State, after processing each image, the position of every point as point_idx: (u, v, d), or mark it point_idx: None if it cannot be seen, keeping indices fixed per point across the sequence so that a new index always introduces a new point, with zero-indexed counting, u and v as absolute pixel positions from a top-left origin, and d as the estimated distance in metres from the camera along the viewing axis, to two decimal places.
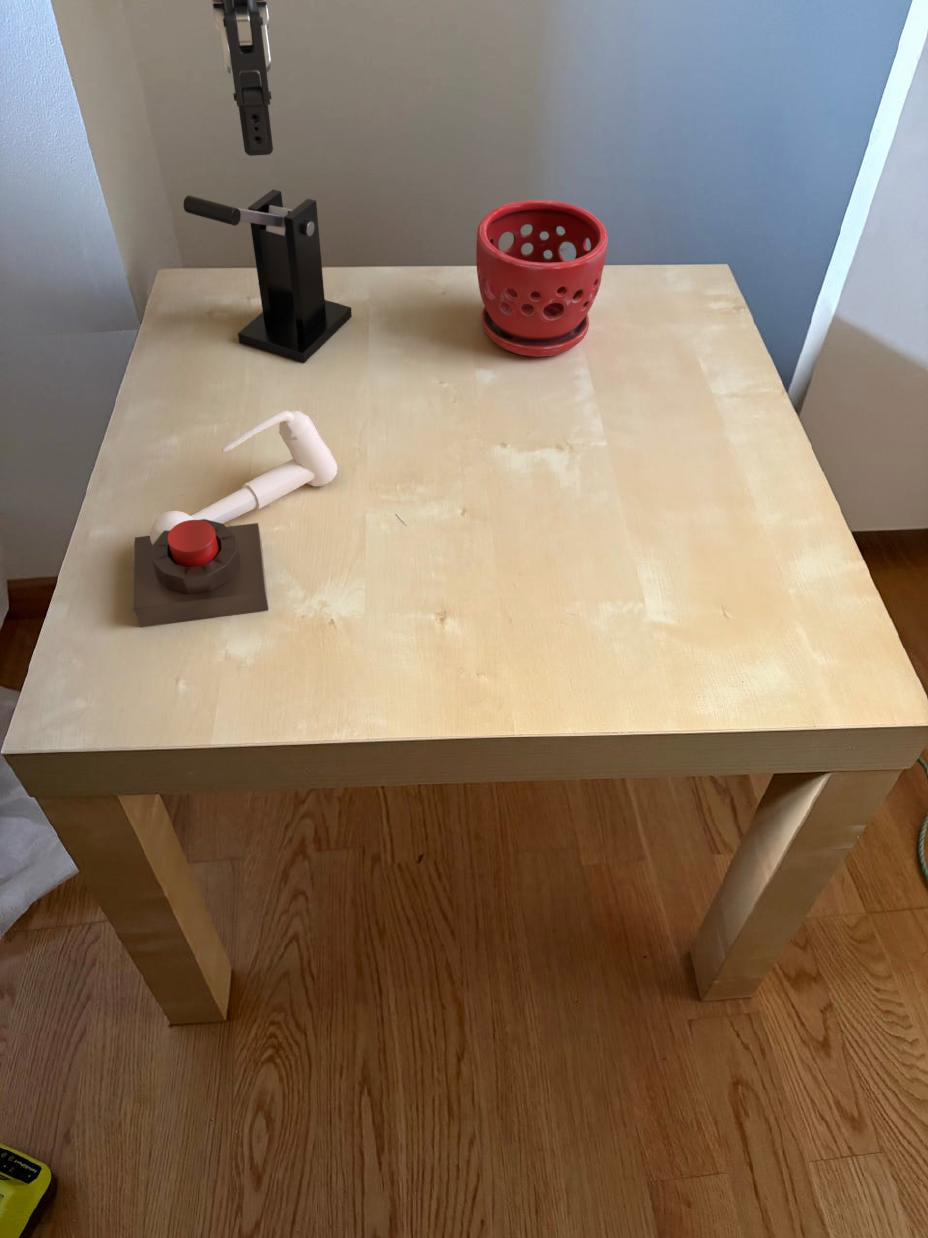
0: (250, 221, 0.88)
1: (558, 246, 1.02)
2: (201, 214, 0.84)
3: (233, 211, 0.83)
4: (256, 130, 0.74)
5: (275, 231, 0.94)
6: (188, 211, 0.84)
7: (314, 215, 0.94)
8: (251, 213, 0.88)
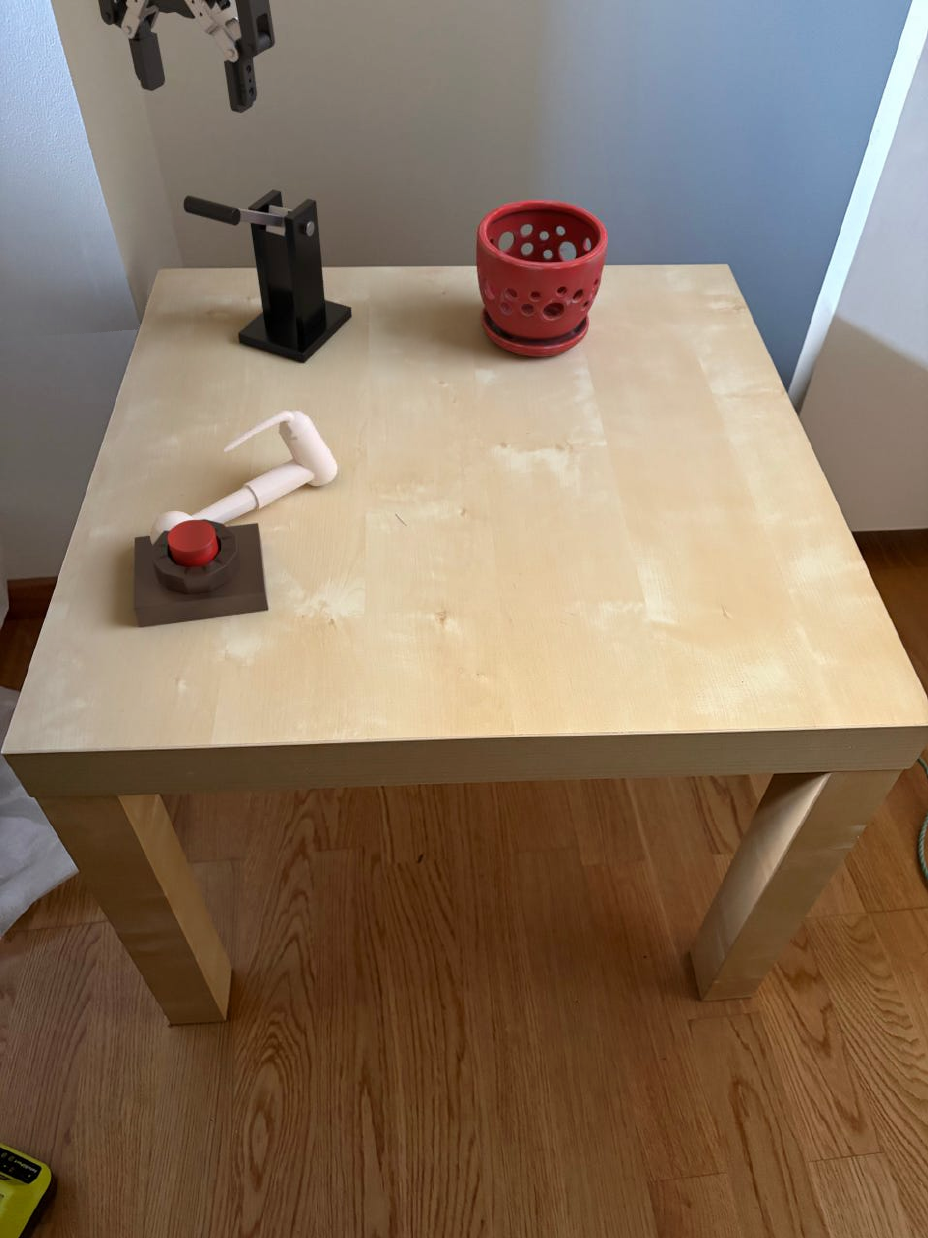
0: (250, 221, 0.88)
1: (558, 246, 1.02)
2: (201, 214, 0.84)
3: (233, 211, 0.83)
4: (249, 82, 0.74)
5: (275, 231, 0.94)
6: (188, 211, 0.84)
7: (314, 215, 0.94)
8: (251, 213, 0.88)
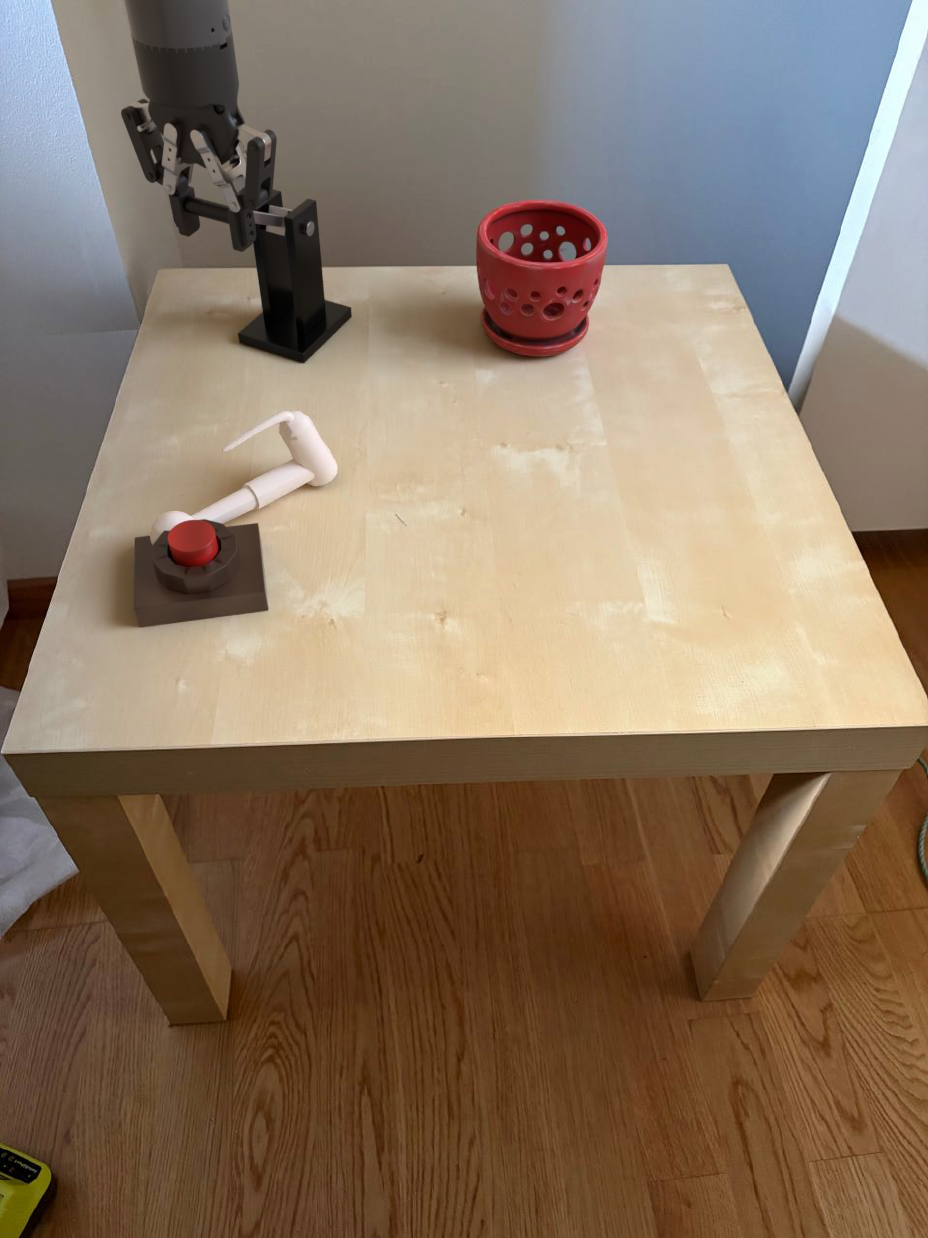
0: None
1: (558, 246, 1.02)
2: (201, 214, 0.84)
3: None
4: (249, 227, 0.83)
5: (275, 231, 0.94)
6: (188, 211, 0.84)
7: (314, 215, 0.94)
8: None
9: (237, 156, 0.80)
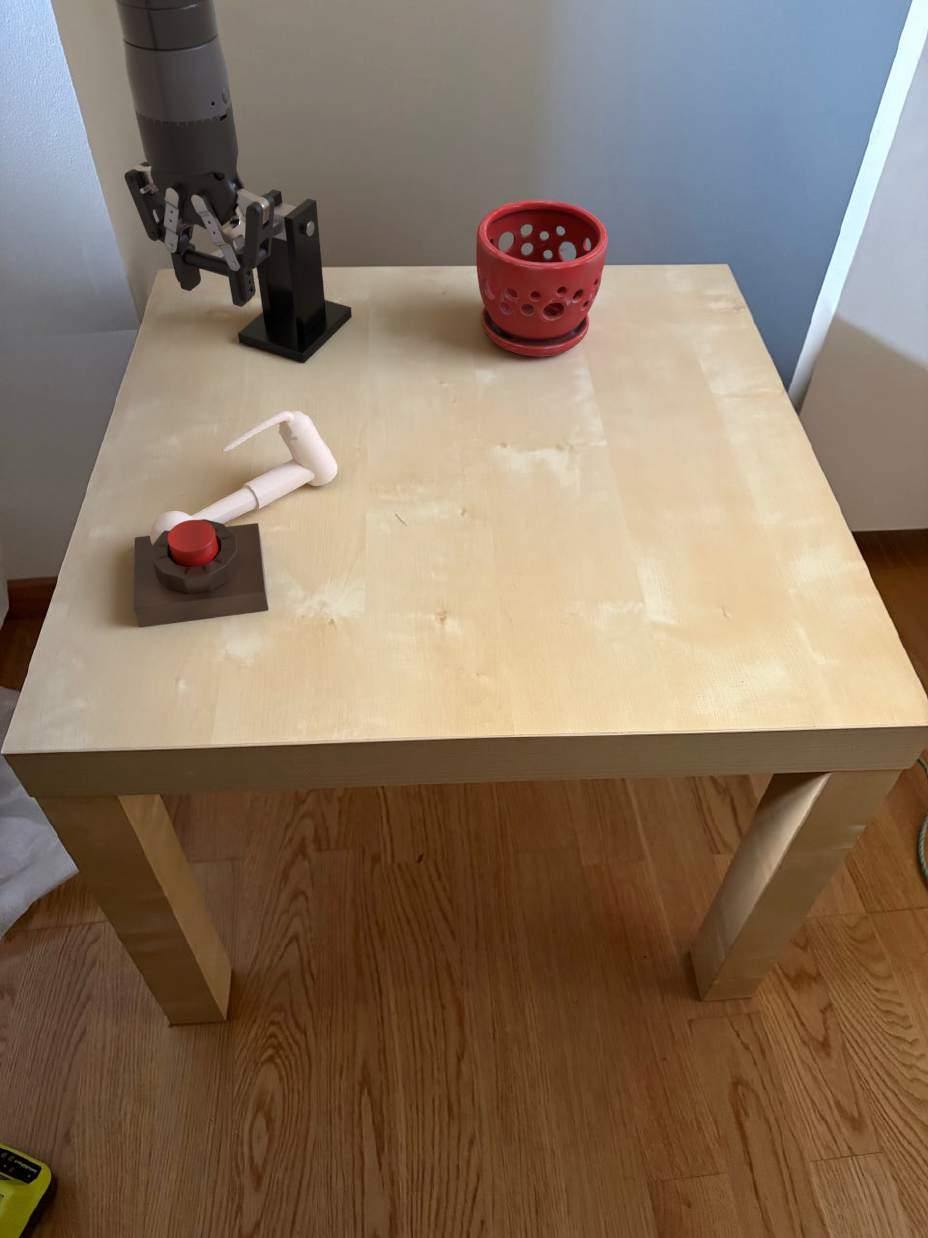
0: None
1: (558, 246, 1.02)
2: None
3: None
4: (248, 283, 0.86)
5: (277, 236, 0.94)
6: (189, 265, 0.87)
7: (314, 215, 0.94)
8: None
9: (236, 217, 0.83)
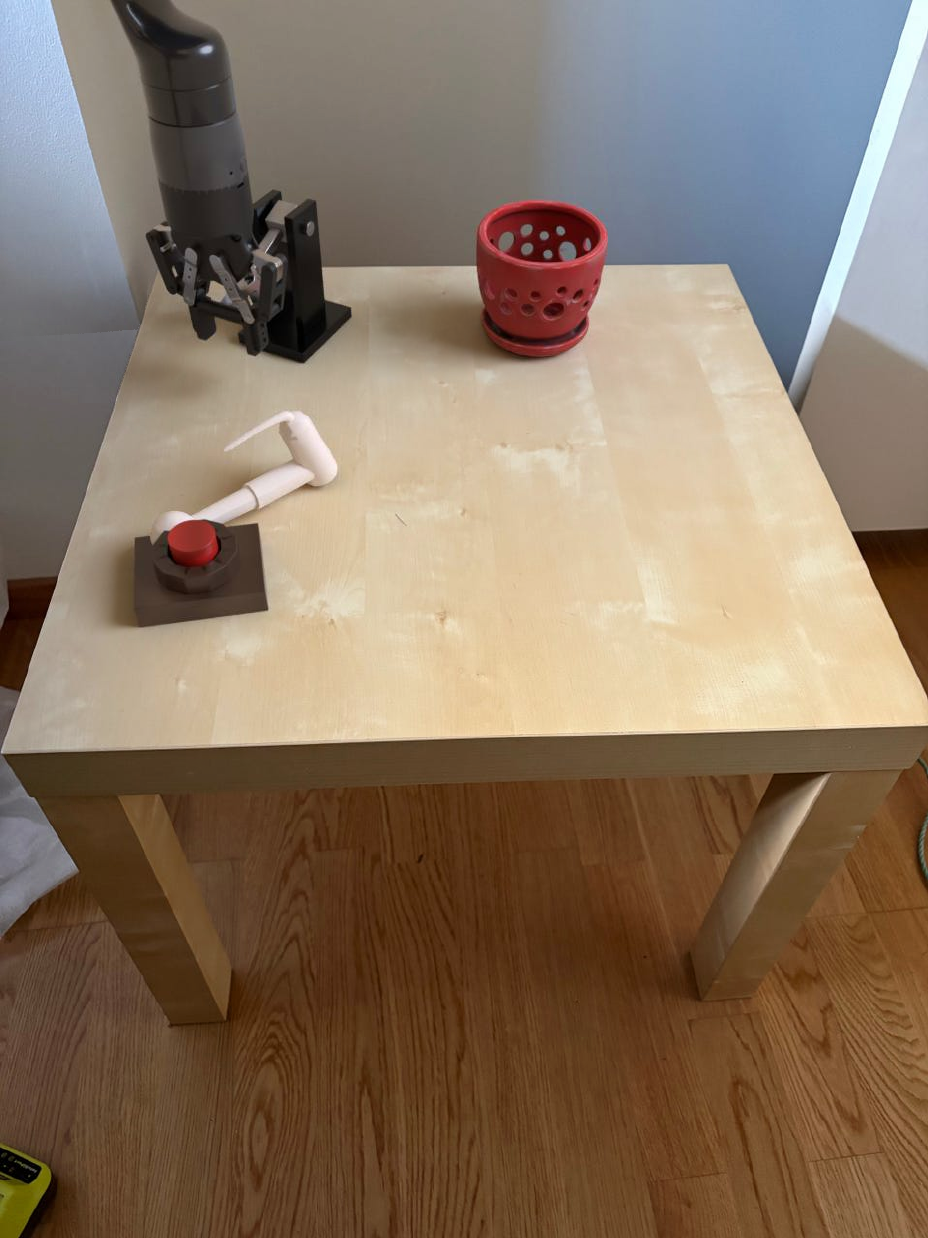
0: None
1: (558, 246, 1.02)
2: (216, 317, 0.91)
3: (242, 319, 0.89)
4: (262, 334, 0.91)
5: (280, 239, 0.95)
6: (205, 313, 0.91)
7: (314, 215, 0.94)
8: None
9: (251, 274, 0.88)
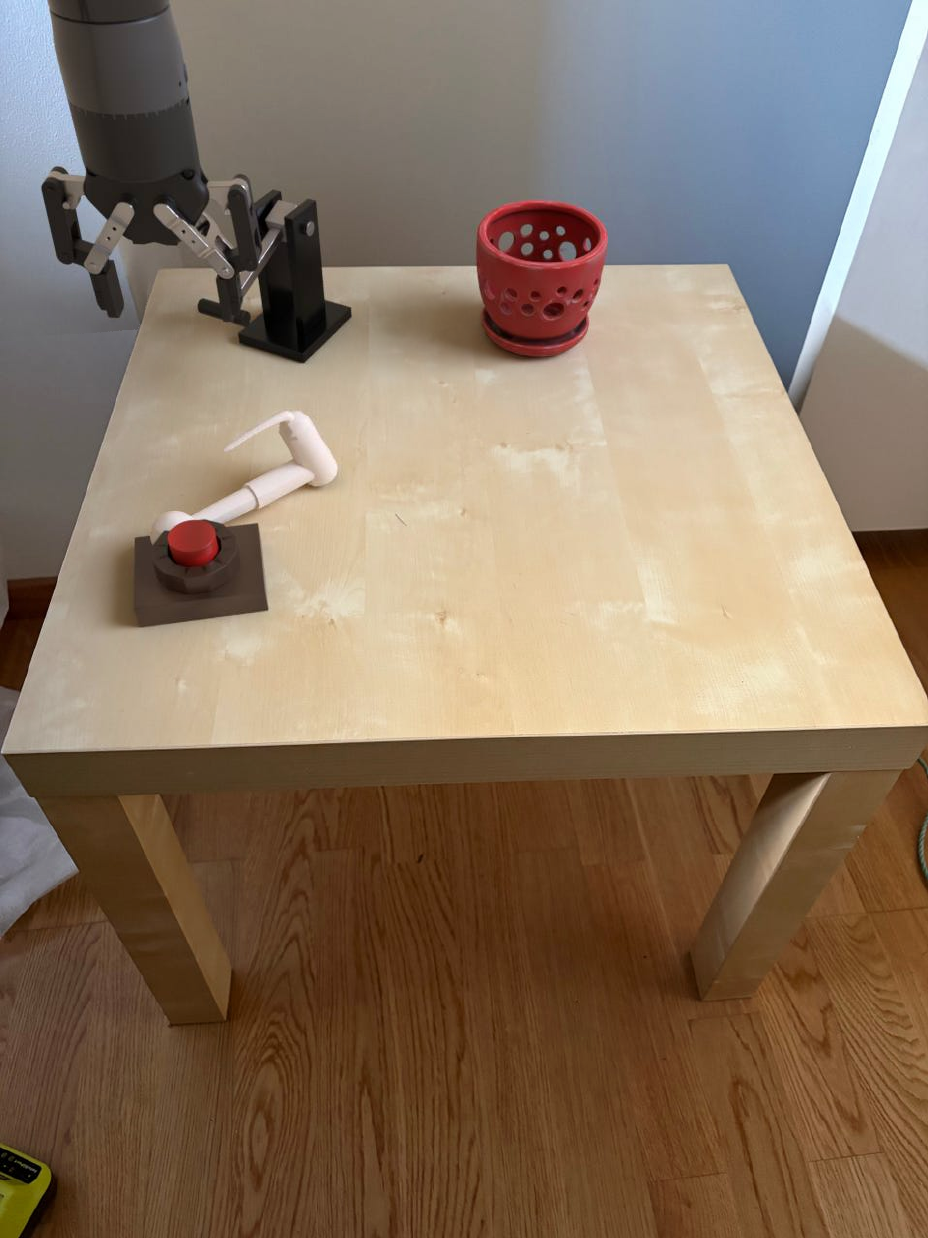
0: (257, 275, 0.92)
1: (558, 246, 1.02)
2: (217, 318, 0.91)
3: (242, 320, 0.89)
4: (238, 292, 0.72)
5: (280, 239, 0.95)
6: None
7: (314, 215, 0.94)
8: None
9: (204, 218, 0.69)
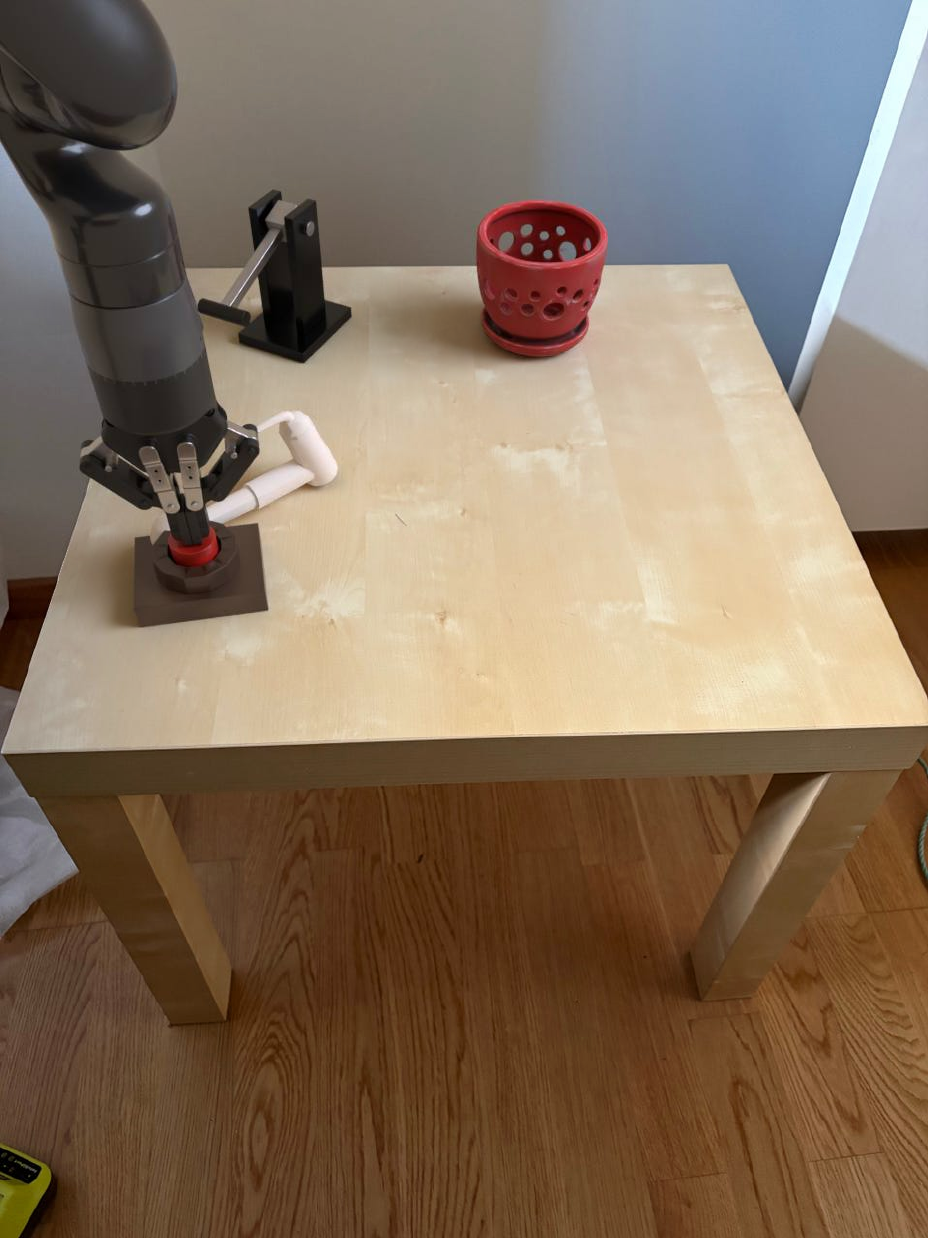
0: (257, 275, 0.92)
1: (558, 246, 1.02)
2: (217, 318, 0.91)
3: (242, 320, 0.89)
4: None
5: (280, 239, 0.95)
6: None
7: (314, 215, 0.94)
8: (254, 270, 0.92)
9: None
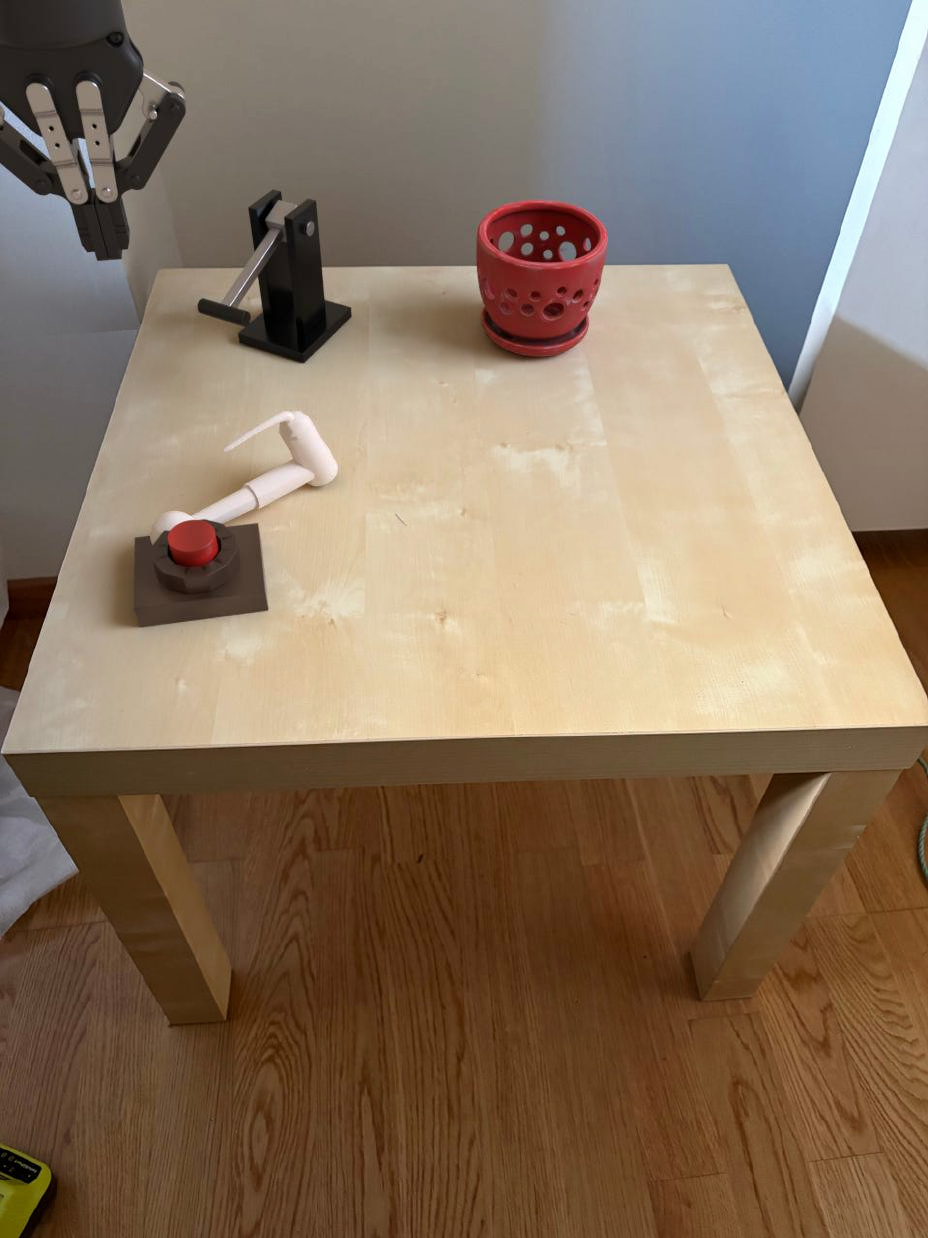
0: (257, 275, 0.92)
1: (558, 246, 1.02)
2: (217, 318, 0.91)
3: (242, 320, 0.89)
4: None
5: (280, 239, 0.95)
6: None
7: (314, 215, 0.94)
8: (254, 270, 0.92)
9: None
